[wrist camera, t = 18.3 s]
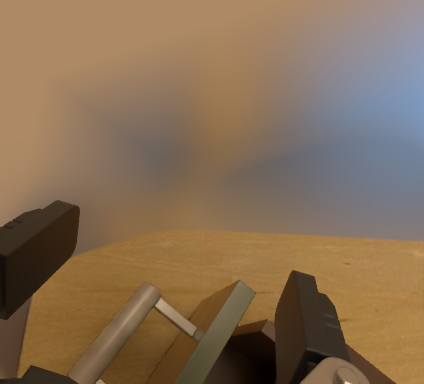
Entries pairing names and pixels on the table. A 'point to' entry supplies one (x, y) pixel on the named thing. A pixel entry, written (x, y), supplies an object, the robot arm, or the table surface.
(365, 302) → the table surface
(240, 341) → the drawer
